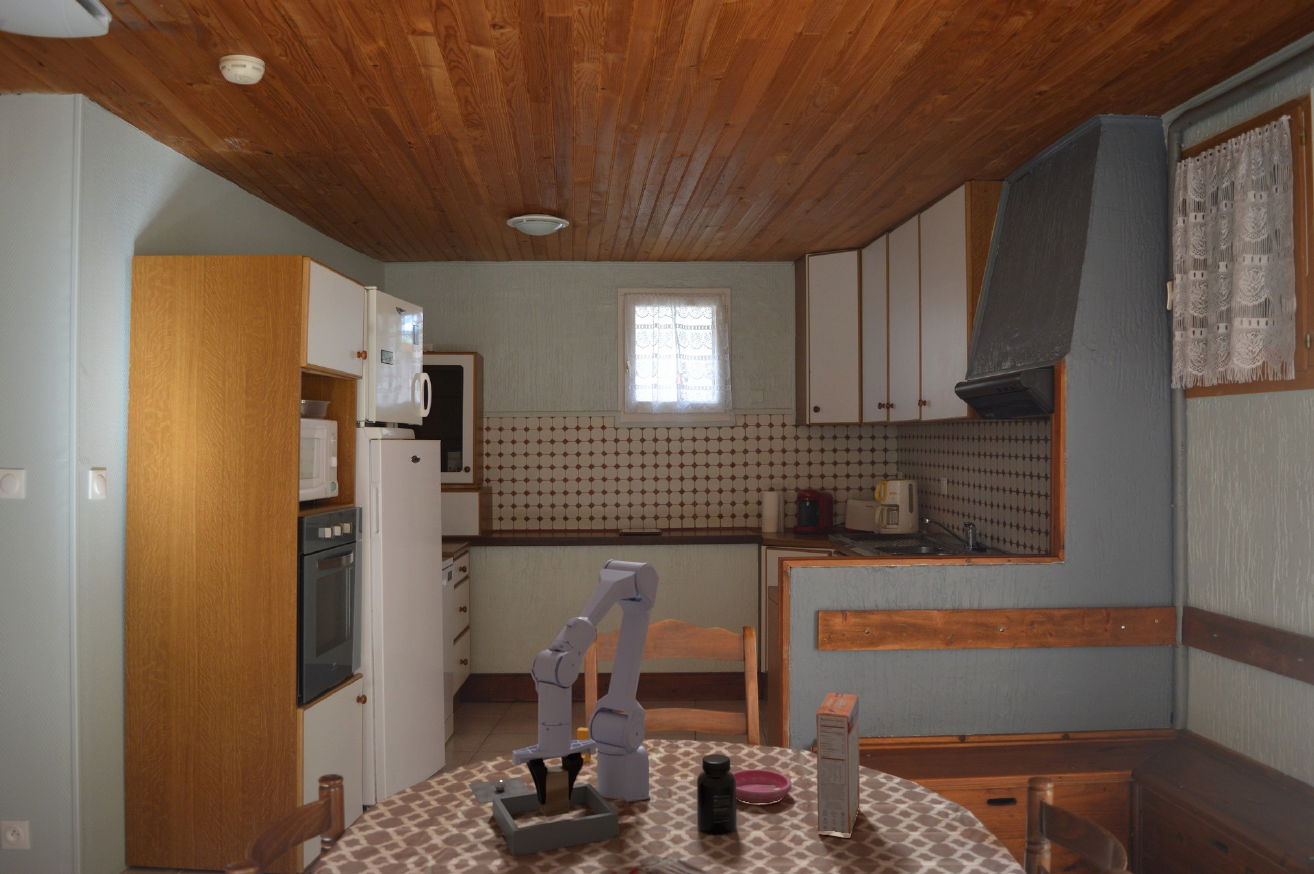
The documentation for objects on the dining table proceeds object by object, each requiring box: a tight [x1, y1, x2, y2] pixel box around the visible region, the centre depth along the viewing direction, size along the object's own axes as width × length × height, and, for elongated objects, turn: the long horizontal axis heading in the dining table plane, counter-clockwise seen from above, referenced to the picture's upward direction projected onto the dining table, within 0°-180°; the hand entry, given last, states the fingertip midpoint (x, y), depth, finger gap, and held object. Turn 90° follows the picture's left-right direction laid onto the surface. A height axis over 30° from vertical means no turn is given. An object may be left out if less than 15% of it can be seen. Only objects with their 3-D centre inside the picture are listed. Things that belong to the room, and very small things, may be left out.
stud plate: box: [468, 776, 531, 805], centre depth 167 cm, size 10×10×3 cm
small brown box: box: [538, 764, 570, 818], centre depth 153 cm, size 4×4×7 cm
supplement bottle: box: [696, 753, 738, 836], centre depth 153 cm, size 7×7×12 cm
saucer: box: [731, 768, 792, 803], centre depth 168 cm, size 12×12×3 cm
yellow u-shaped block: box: [576, 727, 592, 771], centre depth 183 cm, size 12×4×6 cm, turn 172°
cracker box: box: [815, 692, 861, 834], centre depth 156 cm, size 14×6×21 cm, turn 160°
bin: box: [492, 782, 620, 857], centre depth 152 cm, size 18×15×4 cm
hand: (554, 800), depth 152 cm, fingers closed on small brown box, 4 cm apart
